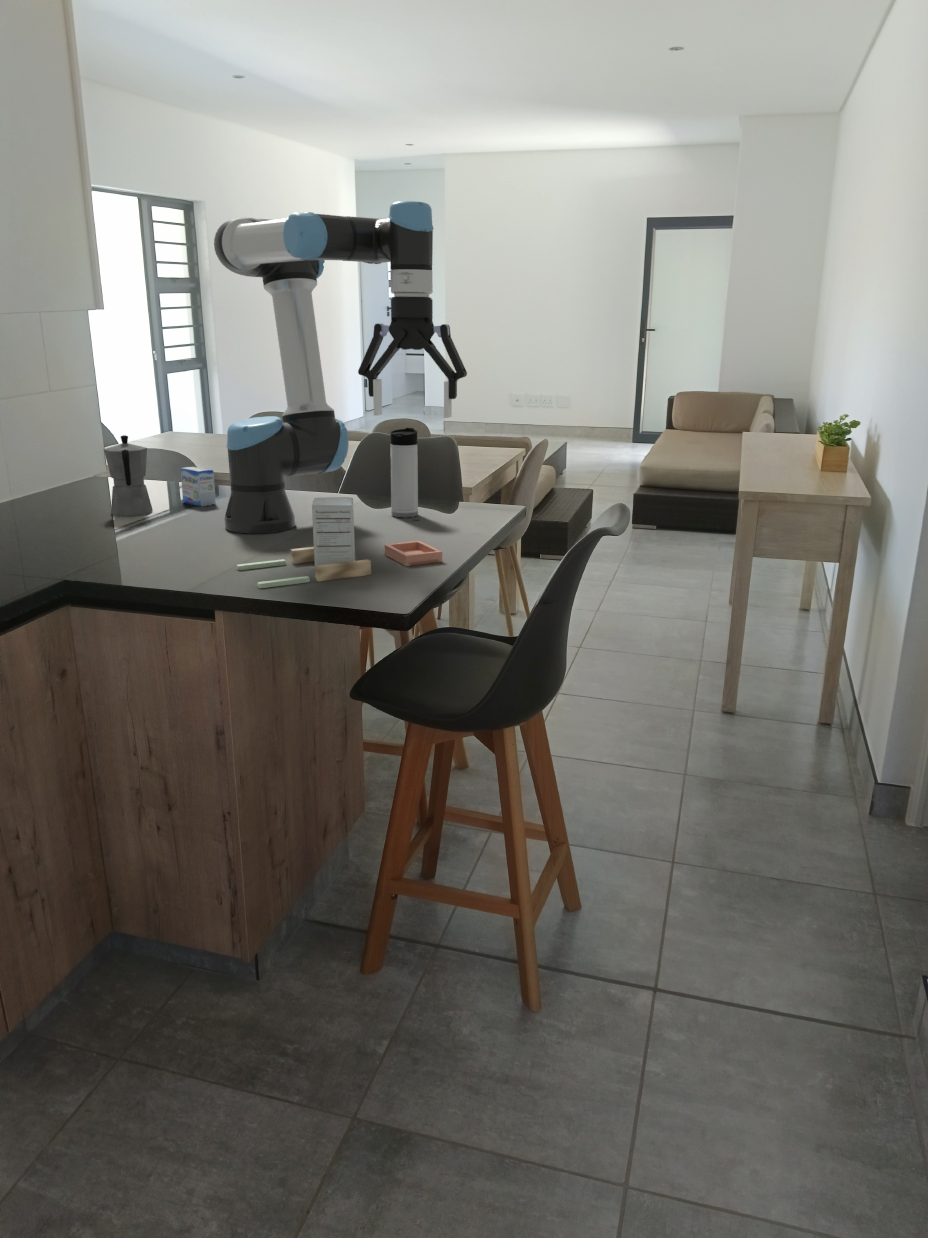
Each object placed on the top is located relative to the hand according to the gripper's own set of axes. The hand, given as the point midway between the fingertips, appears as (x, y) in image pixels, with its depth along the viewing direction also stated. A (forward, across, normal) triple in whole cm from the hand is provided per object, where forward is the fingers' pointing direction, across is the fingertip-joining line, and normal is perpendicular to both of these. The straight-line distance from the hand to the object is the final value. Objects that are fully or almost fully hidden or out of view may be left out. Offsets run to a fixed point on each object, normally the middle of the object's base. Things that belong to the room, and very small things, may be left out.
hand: (412, 416), depth 172 cm
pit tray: (+27, +1, -2) cm, 27 cm away
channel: (+27, -11, -13) cm, 32 cm away
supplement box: (+27, -11, -13) cm, 32 cm away
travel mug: (+27, -13, +36) cm, 47 cm away
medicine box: (+27, -66, +36) cm, 80 cm away
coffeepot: (+27, -75, +20) cm, 82 cm away
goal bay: (+27, -20, -21) cm, 40 cm away
